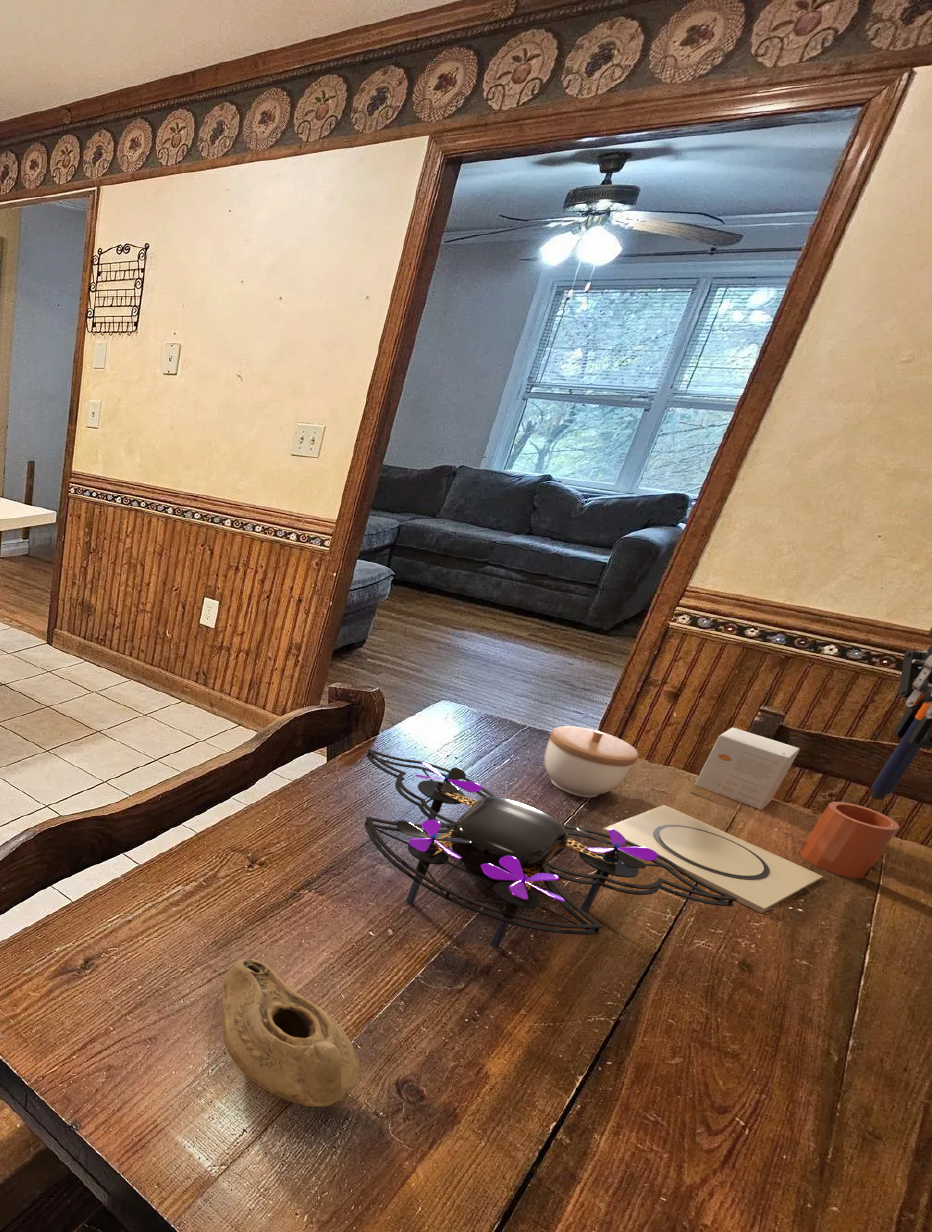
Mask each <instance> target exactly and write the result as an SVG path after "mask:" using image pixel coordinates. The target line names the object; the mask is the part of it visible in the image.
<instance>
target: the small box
mask: <svg viewBox="0 0 932 1232" xmlns="http://www.w3.org/2000/svg"><path fill="white" fill-rule="evenodd" d="M799 752H800V747H796V746H794V745H790V744H786V743H784V742H781V741H778V740H774V739H772V738H768V737H765V736H762V735H758V734H756V733H752V732H749V731H746V730H742V729H739V728H737V727H730V728H729V729H727V730H726V731H724V732H723V733H721V734H720V735H719V736H718V737H717V739H716V742H715V743H714V746H713V747H712V749H711V751H710V753H709V755H708V757H707V759H706V761H705V763H704V765H703V767H702V769H701V771H700V773H699V775H698V777H697V779H696V781H695V783H694V786H697V787H699V788H702V789H704V790H707V791H710V792H713V793H714V794H715V793H716V794H718V795H721V796H724V797H727V798H729V799H731V800H734V801H737V802H739V803H741V804H745V805H747V806H749V807H751V808H756V809H758V810H763V809H764V808H765V807H767V806H768V805H769V804H770V803H771V802H772V801H773V799H774V797H775V795H776V793H777V791H778V790H779V788H780V786H781V784H782V783H783V780H784V778H785V777H786V775H787V773H788V772H789V770H790V768H791V766H792V765H793V763H794V761H795V760H796V757H797V755H798V754H799ZM689 792H690V794H692V795H694V796H695V797H696V796H697V797H699V798H702V799H704V800H707V801H709V802H712V803H714V804H718V805H719V803H718V802H715V801H714V800H711V799H709V798H706V797H704V796H702V795H699V794H697V793H694V792H692V791H689ZM721 806H722V807H724V805H722V804H721Z"/></svg>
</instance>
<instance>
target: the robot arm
mask: <svg viewBox="0 0 932 1232" xmlns="http://www.w3.org/2000/svg"><path fill="white" fill-rule="evenodd" d="M928 636H929V637H930V638H931V639H932V626H931V628H930V629H929V631H928ZM898 696H899V697H900V698H905V699H906V701H905V706H906V707H907V708H906V710H905V712H904V713H903V715H902V717H901V719H900V720H899V721H898V723H897V724H896V728H895V729H894V731H893V735H895V736H896V737H898V739H902V738H903V736H904V734H905V733H906V731H907V730H908V728H909V726H910V725H911V723H912V722H913V720H914V719H915V716H916V714H917V713H918V711H919V710H920V708H921V706H922V705H923V703H924V702H931V705H930V706H929V708H928V710H927V712H926V717H924V716H923V718H922V719H921V721H920V722H919V724H918V726H917V727H916V729H915V730H914V732H913V733H912V735H911V737H910V738H909V740H908V743H909V744H910V745H912V746H914V747H919V748H920V749H927V750H931V749H932V644H931V645H929V647H928V648H927V649H924V650H914V649H907V650H906V651H905V653H904V655H903V661H902V668H901V674H900V682H899V687H898Z"/></svg>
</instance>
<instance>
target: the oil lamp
mask: <svg viewBox="0 0 932 1232" xmlns="http://www.w3.org/2000/svg"><path fill="white" fill-rule="evenodd" d="M221 991H222V992H221V994H222V997H221V999H222V1000H221V1001H222V1002H221V1003H222V1004H221V1005H222V1007H221V1008H222V1021H223V1023H222V1030H223V1031H222V1032H223V1042H224V1045H225V1048H226V1050H227V1052H228V1054H229V1056H230V1058H231V1060H232V1061H233V1063H234V1064H235V1065H236V1067H237V1068H238V1069H239V1070H240V1071H241V1072H242V1073H243V1074H244V1075H245V1076H246V1077H247V1078H248V1079H250V1080H251V1081H253V1083H255V1084H256V1085H257V1086H258V1087H260V1088H261V1089H262V1090H265V1091H267V1092H269V1093H270V1094H273V1095H274V1096H277V1097H279V1098H281V1099H282V1100H283V1099H284V1100H285V1101H288V1102H291V1103H294V1104H299V1105H304V1106H306V1107H312V1108H313V1107H317V1108H319V1107H320V1108H321V1107H327V1106H331V1105H332V1104H334V1103H336V1102H342V1101H343V1100H344V1096H345V1095H346V1094H348V1093H349V1092H351V1091H352V1090H353V1089H354V1088H355V1087H356V1085H357V1083H358V1080H359V1076H360V1060H359V1059H358V1058H359V1057H358V1056H357V1053H356V1051H355V1048H354V1046H353V1044H352V1042H351V1039H350V1038H349V1036H348V1035H347V1033H346V1032H345V1030H344V1029H343V1027H342V1025H340V1024H339V1023H338V1022H337V1021H336V1020H335V1019H334V1018H333V1017H332V1016H330V1015H329V1014H328V1013H327V1012H326V1011H325V1010H324V1009H322V1008H321V1007H319V1006H318V1005H317V1004H315V1003H313V1002H312V1001H310V1000H309V999H307V998H306V997H305V996H302V995H301V994H299V993H298V992H296V991H295V990H293V989H292V988H291V987H290V986H289V985H287V984H286V983H285V982H284V981H283V980H282V979H281V978H280V977H279V976H278V974H276V972H274V970H273V969H272V968H270V967H269V966H268V965H267V964H266V963H263V962H261V961H258V960H256V959H247V958H243V959H239V960H238V961H236V962H235V964H234V965H233V966H232V967H230V968H229V970H228V971H227V972H226V973H225V974H224V979H223V981H222V990H221Z"/></svg>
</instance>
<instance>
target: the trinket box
mask: <svg viewBox="0 0 932 1232" xmlns="http://www.w3.org/2000/svg"><path fill="white" fill-rule="evenodd" d="M544 751H545V752H544V758H543V760H544V761H543V763H544V768H545V771H546V773H547V775H548V777H549V778H550V782H551V783H552V784H553V785H554V786H555V787H556V788H557V789H560V791H561V790H562V791H563V792H566V793H568V794H571V795H573V796H577V797H583V798H596V797H598V796H599V795H602V794H605V793H608V792H611V791H613V790H615V789H616V788H617V787H619V785H621V784H622V783H623V782H624V781H625V779H626V778H627V777H628V775H629V774H630V773H631V770H632V768H633V766H634V764H635V763H636V762H637V760H638V759H639V755H640V754H639V752H638V751H637V749H636V748H635V747H634V746H633V745H632V744H630V743H628V742H626V741H625V740H623V739H621V738H619V737H617V736H614V735H611V734H609V733H606V732H603V731H600V730H595V729H592V728H587V727H581V726H573V725H562V726H557V727H555V728H553V729H552V730H551V733H550V736H549V739H548V742H547V745H546V747H545V750H544Z"/></svg>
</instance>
